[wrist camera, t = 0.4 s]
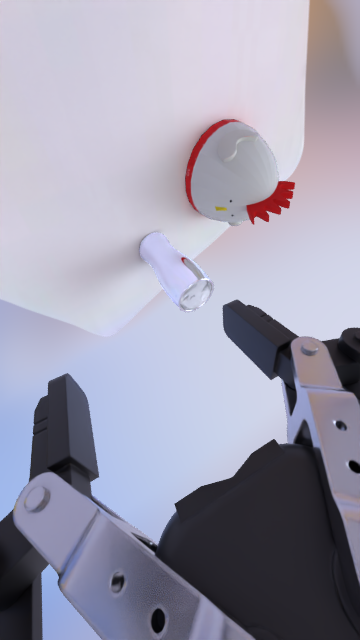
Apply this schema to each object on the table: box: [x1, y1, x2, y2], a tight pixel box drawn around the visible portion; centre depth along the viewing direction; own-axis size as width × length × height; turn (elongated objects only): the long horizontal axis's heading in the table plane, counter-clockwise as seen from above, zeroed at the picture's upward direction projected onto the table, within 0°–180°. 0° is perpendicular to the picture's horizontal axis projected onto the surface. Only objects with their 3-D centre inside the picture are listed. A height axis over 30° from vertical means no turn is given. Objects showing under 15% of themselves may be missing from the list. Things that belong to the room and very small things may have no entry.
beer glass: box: [139, 232, 214, 312], centre depth 38 cm, size 7×7×15 cm
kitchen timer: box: [185, 119, 295, 226], centre depth 34 cm, size 14×14×15 cm
